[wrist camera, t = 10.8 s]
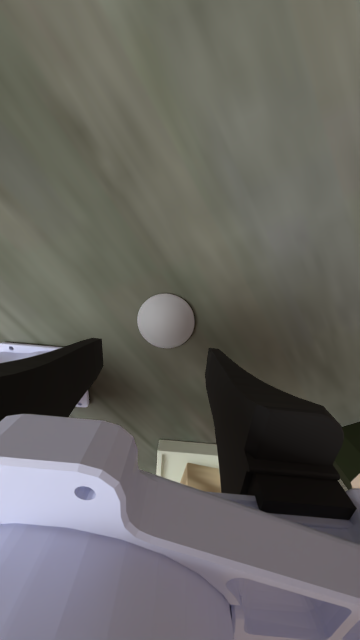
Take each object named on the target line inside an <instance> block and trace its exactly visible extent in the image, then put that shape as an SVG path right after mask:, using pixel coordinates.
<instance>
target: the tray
mask: <svg viewBox="0 0 360 640" xmlns="http://www.w3.org/2000/svg"><path fill="white" fill-rule="evenodd" d="M187 463H192V464H197V465H202V466H207V467H212V468H217V469H219V461H218V452H217V444H206V443H195V442H183V441H172V440H160V439H159V444H158V452H157V470H156V475H158V476H160V477H163V478H166V479H169V480H172V481H175V482H178V483H180V481H181V479H182V476H183V473H184V470H185V467H186V465H187ZM219 474H220V472H219Z"/></svg>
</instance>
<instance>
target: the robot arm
mask: <svg viewBox="0 0 360 640" xmlns="http://www.w3.org/2000/svg"><path fill="white" fill-rule="evenodd" d="M102 367H103V353H102V339H98V338H90V339H86V340H83V341H80V342H77V343H74V344H71V345H68V346H65V347H54V346H42V345H31V344H19V343H7V342H3V343H0V640H360V489H359V488H354V489H349V490H347V491H346V492H345V491H344V489H343V488H342V486H341V485H340V484H339V482H338V481H337V480H339V479H340V474H339V473H338V471H337V470H336V469H335V467H334V466H333V463H334V461H335V459H336V457H337V455H338V453H339V451H340V449H341V447H342V444H343V440H344V431H343V429H342V427H341V425H340V424H339V423H338V422H337V421H336V419H335V418H334V417H333V416H332V415H331V414H330V413H329V412H328V411H327V410H326V409H325V408H324V407H323V406H321V405H318V404H315V403H312V402H309V401H306V400H303V399H301V398H298V397H295V396H293V395H290V394H288V393H285V392H283V391H281V390H278V389H276V388H274V387H272V386H270V385H268V384H266V383H264V382H263V381H261V380H259V379H257V378H256V377H254V376H252V375H251V374H249V373H248V372H246V371H245V370H244V369H242V368H241V367H239V366H238V365H237V364H236V363H234V362H233V361H232V360H231V359H230V358H228V357H227V356H226V355H225V354H224V353H223V352H222V351H220V350H219V349H214V348H209V351H208V358H207V365H206V372H205V379H206V389H207V393H208V398H209V402H210V407H211V411H212V415H213V420H214V426H215V434H216V443H217V452H218V461H219V472H220V483H221V493H217V492H205V491H202V490H199V489H196V488H193V487H190V486H187V485H184V484H181V483H178V482H175V481H172V480H169V479H166V478H163V477H160V476H158V475H155V474H152V473H149V472H146V471H143V470H140V469H139V468H138V449H137V446H136V443H135V441H134V438H133V436H132V435H131V434H130V433H129V432H127V431H126V430H125V429H124V428H123V427H121V426H120V425H118V424H114V423H111V422H107V421H104V420H93V419H81V418H70V417H69V415H70V413H71V412H72V411H73V409H74V408H75V407H87V406H88V405H89V394H88V389H89V388H90V386H91V385H92V384H93V382H94V381H95V379H96V378H97V376H98V375H99V373H100V371H101V369H102Z"/></svg>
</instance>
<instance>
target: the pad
mask: <svg viewBox="0 0 360 640" xmlns="http://www.w3.org/2000/svg"><path fill="white" fill-rule="evenodd" d="M137 322H138V328H139V331H140V333H141V334H142V336H143V337H144V338H145V339H146V340H147V341H148V342H149V343H151V344H152V345H154V346H157V347H160V348H173V347H177V346H179V345H181V344H183V343H184V342H186V341H187V340H188V338H189V337H190V336H191V334H192V332H193V329H194V323H195V321H194V315H193V312H192V309H191V307H190V306H189V305H188V303H187V302H186V301H185V300H183V299H182V298H180V297H178V296H176V295H173V294H166V293H164V294H158V295H155V296H152V297H151V298H149V299H148V300H147V301H146V302H145V303H144V304H143V305H142V306H141V308H140V310H139V313H138V318H137Z"/></svg>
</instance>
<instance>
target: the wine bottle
mask: <svg viewBox="0 0 360 640" xmlns="http://www.w3.org/2000/svg"><path fill="white" fill-rule="evenodd" d="M342 429H343V431H344V440H343V444H342V447H341V449H340V451H339V453H338V455H337V457H336V459H335V461H334V463H333V466H334V467H335V469H336V470H337V471H338V473H339V474H340V479H341V480H342V481H343V483H344V484H345V486H346V487H347V488H348V490H349V489H354V488H359V489H360V422H358V423H355V424H352V425H348V426H345V427H342Z"/></svg>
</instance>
